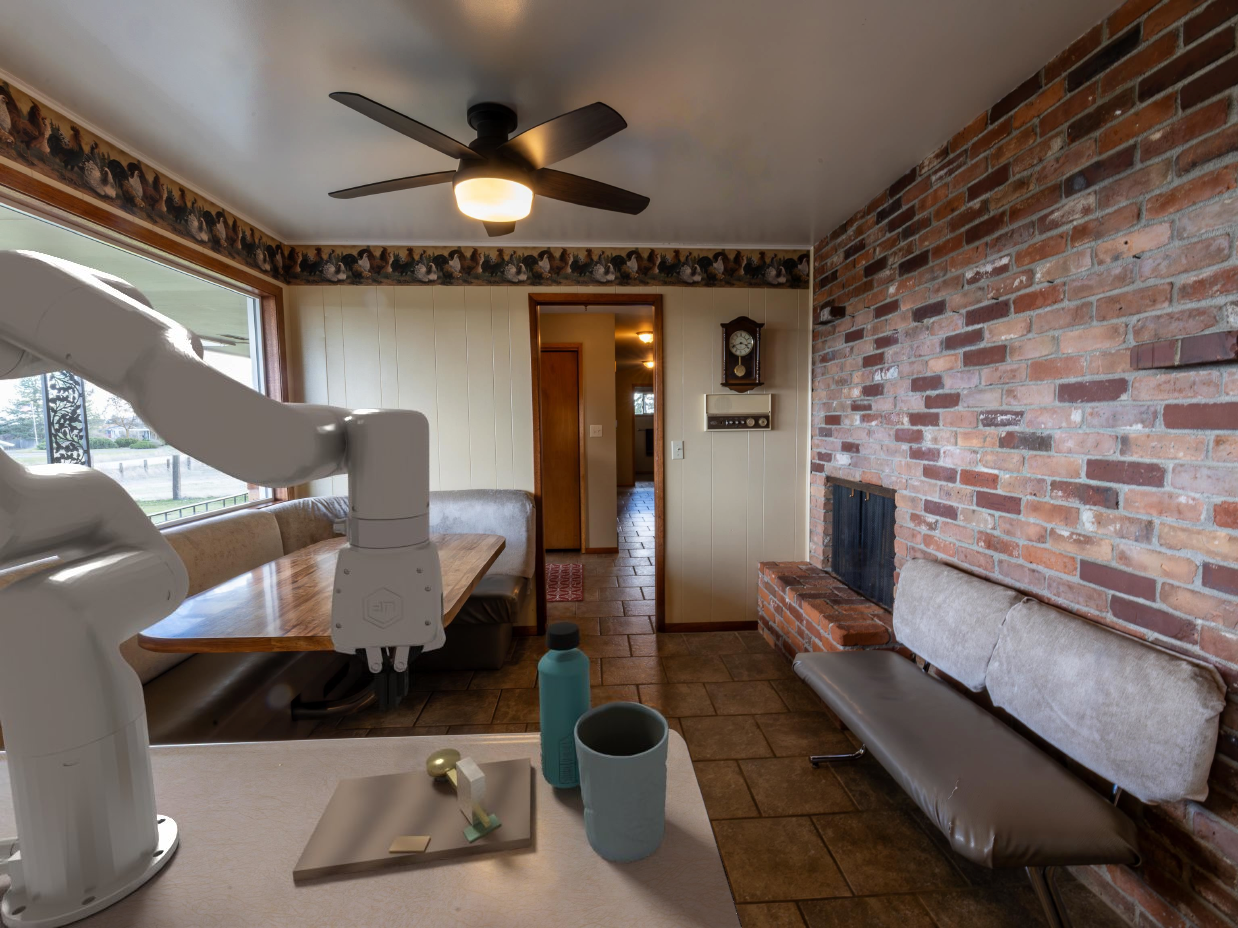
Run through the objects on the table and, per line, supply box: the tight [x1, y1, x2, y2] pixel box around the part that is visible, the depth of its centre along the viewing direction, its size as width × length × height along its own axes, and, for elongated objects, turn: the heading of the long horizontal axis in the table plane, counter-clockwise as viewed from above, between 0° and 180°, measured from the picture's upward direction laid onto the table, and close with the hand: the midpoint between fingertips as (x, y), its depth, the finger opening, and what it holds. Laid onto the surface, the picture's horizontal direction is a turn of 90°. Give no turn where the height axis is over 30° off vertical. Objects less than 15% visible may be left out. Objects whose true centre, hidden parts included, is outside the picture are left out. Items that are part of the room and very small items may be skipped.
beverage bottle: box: [537, 621, 593, 789], centre depth 64 cm, size 6×7×20 cm
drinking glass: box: [574, 701, 670, 864], centre depth 57 cm, size 10×10×12 cm
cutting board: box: [292, 757, 532, 881], centre depth 60 cm, size 23×13×2 cm, turn 99°
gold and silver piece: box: [425, 748, 490, 827], centre depth 60 cm, size 14×4×5 cm, turn 39°
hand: (391, 701), depth 55 cm, fingers closed
